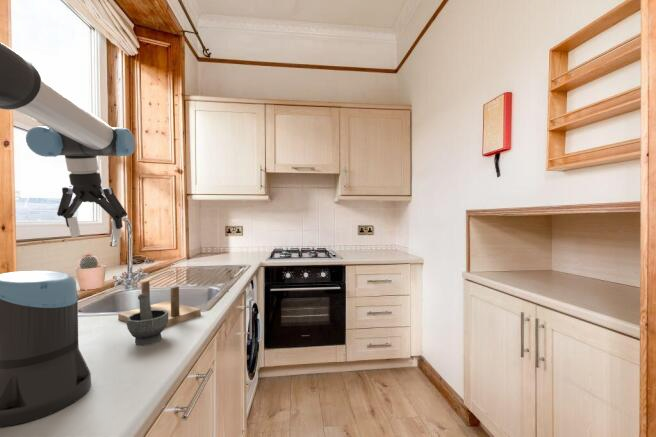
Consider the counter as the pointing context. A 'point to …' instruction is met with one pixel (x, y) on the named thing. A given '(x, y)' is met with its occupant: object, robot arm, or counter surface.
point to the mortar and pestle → (147, 322)
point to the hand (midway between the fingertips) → (97, 237)
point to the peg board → (166, 307)
